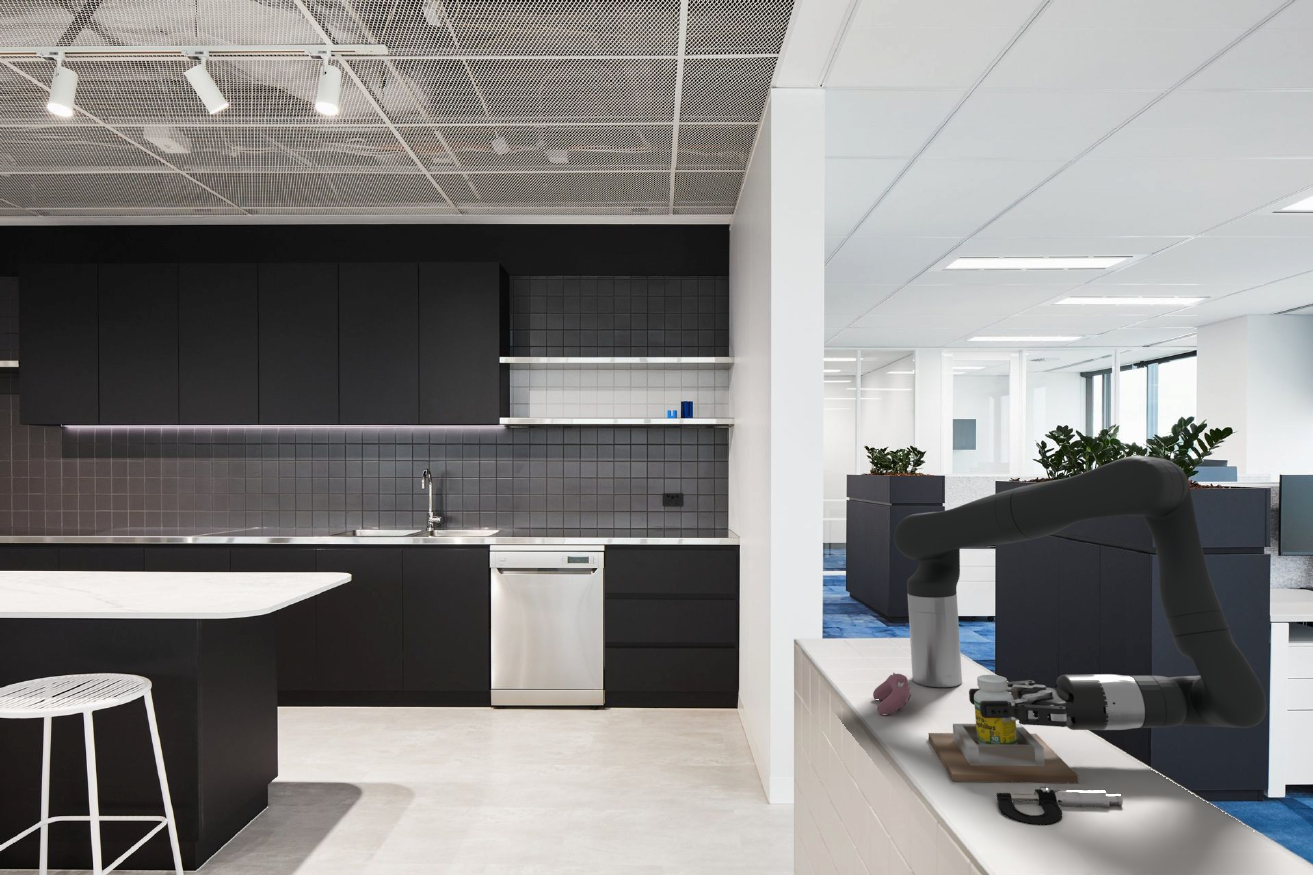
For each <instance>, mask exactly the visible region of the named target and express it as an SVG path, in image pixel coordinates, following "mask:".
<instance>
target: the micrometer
mask: <svg viewBox="0 0 1313 875" xmlns="http://www.w3.org/2000/svg"><path fill="white" fill-rule="evenodd" d="M996 800H997V806H998V810H999V812H1000V813H1001V815H1003V816H1004V817H1006V818H1007V819H1010V820H1011V821H1014V822H1017V823H1020V824H1025V825H1029V826H1031V825H1032V826H1051V825H1055V824H1058V823H1060V822H1061V821H1062V820H1063V811H1062V808H1061V807H1067V808H1069V807H1071V808H1101V809H1108V808H1109V807H1110V805H1111V806H1113V805H1114V806H1118V807H1119V806H1123V803H1124V802H1123V798H1122V795H1121V794H1119V793H1115V794H1108V793H1107V792H1106V790H1105V789H1096V790H1095V789H1093V790H1091V789H1086V790H1085V789H1075V788H1074V789H1073V788H1071V789H1056V790H1053V789H1051V787H1049V786H1046V785H1040V787H1039V788H1035V789H1034V794H1033V793H1029V794H1028V793H1011V792H996ZM1014 802H1036V803H1037V805H1038V806H1039V807H1041V808H1042V809H1043V811H1044V812H1043V813H1041V814H1028V813H1025V812H1022V811H1020V810H1019V809H1018V808H1016V806H1015V803H1014Z"/></svg>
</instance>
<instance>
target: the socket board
mask: <svg viewBox="0 0 1313 875" xmlns="http://www.w3.org/2000/svg"><path fill="white" fill-rule="evenodd" d="M952 731H953V732H945V733H944V732H928V734H927V735H928V741H929V740H930V741H929V742H930V744H931V746H932V747H934V748H933V749H934V751H935V752H936V754H937V756H938V758H939V760H940V761H941V763H942V764H943V766H944V767H945V768H944V769H946V773H948V775H949V777H950V779H951V780H952V782H953V783H954V782H957V783H958V782H959V783H961V782H962V783H963V782H965V783H1016V784H1017V783H1024V784H1025V783H1029V784H1030V783H1032V784H1037V783H1038V784H1079V775H1078V774H1077V773H1076V772H1075V771H1074V770H1073V769H1072V768H1071V767H1070V766H1069V765H1068V764H1067V763H1066V762H1065V761H1064V760H1063V758H1061V757H1060V756H1059V755H1058V754H1057V753H1056V752H1055V751H1054V750H1053V749H1052V748H1051V747H1050V746H1049V744H1047V743H1046V741H1044V739H1042V738H1041V736H1040V735H1038V734H1037V733H1030V732H1029V731H1028V730H1027V729H1026V728H1025V727H1024V725H1022V724H1020V723H1016V731H1017V745H1003V744H979V743H978V740H977V730H976V723H952Z"/></svg>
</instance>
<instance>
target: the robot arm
mask: <svg viewBox="0 0 1313 875" xmlns="http://www.w3.org/2000/svg"><path fill="white" fill-rule="evenodd" d="M1190 486H1191V485H1190V482H1189V479H1188V477H1187V475H1186V473H1185V471H1184V470H1183V468H1182V467H1180V466H1179V465H1178V464H1176V463H1174V462H1173V461H1171V460H1168V459H1165V458H1160V457H1154V456H1145V455H1132V456H1127V457H1123V458H1119V459H1116V460H1114V461H1112V462H1109V463H1106V464H1103V465H1100V466H1098V467H1095V468H1093V469H1090V470H1087V471H1085V472H1082V473H1080V474H1077V475H1073V476H1069V477H1066V478H1061V479H1054V480H1048V481H1042V482H1038V483H1034V484H1033V483H1032V484H1029V485H1022V486H1019V487H1015V488H1012V489H1007V490H1004V491H1001V492H1000V491H999V492H997V493H995V494H991V495H988V496H984V497H981V498H979V499H975V500H972V501H971V502H968V503H965V504H962V505H959V506H957V507H953V508H950V509H947V510H942V511H931V512H921V513H920V512H919V513H913V514H910V515H908V516H906V517H904V518H902V520H900V521H899V522H898V524H897V525H896V527H895V530H894V533H893V542H894V545H895V547H896V549H897V550H898V552H900V553H901V554H902V555H903V556H904V557H906V558H908V559H911V560H914V561H919V564H918V568H916V571H915V572H914V573H913V574H912V575H911V576H910V577H909V578H907V581H906V582H907V583H906V590H907V605H908V606H907V608H908V621H909V622H908V623H909V638H910V640H909V641H910V655H911V658H910V659H911V672H912V673H911V675H912V681H913V682H914V683H916V684H918V685H920V686H925V687H933V688H950V687H957V686H960V685H961V684H962V683H963V674H962V658H961V657H962V656H961V642H960V641H961V639H960V626H959V624H960V623H959V609H958V595H957V593H958V592H957V586H958V583H959V580H960V576H961V565H960V564H961V562H960V561H961V554H960V549H962V548H972V547H974V548H975V547H985V546H986V547H987V546H988V547H989V546H999V545H1007V544H1016V543H1022V542H1026V541H1031V540H1032V541H1033V540H1035V539H1040V538H1045V537H1048V536H1051V535H1053V534H1056V533H1058V532H1061V531H1062V530H1064V529H1067V528H1068V527H1070V526H1072V525H1075V524H1078V523H1082V522H1085V521H1090V520H1098V519H1104V518H1112V517H1142V518H1143V520H1144V521H1145V524H1146V525H1147V527H1148V529H1149V532H1150V534H1151V537H1152V539H1153V542H1154V545H1155V550H1156V556H1157V564H1158V587H1159V588H1158V590H1159V591H1158V592H1159V598H1160V601H1161V602H1160V603H1161V606H1162V607H1161V608H1162V610H1163V611H1162V612H1163V613H1164V616H1165V617H1164V618H1165V619H1166V622H1167V625H1168V628H1169V631H1170V634H1171V637H1172V639H1173V641H1174V645H1175V647H1176V648H1177V651H1178V653H1179V654H1180V655H1182V656H1183V657H1185V658H1187V659H1189V660H1191V661H1192V663H1193V665H1194V666H1195V668H1196V670H1197V672H1198V675H1186V676H1171V677H1170V676H1169V677H1167V676H1163V675H1123V674H1122V675H1121V674H1113V673H1108V674H1107V673H1104V674H1103V673H1100V674H1095V673H1094V674H1061V675H1060V676H1058V677H1057V679H1056V683H1055V686H1053V687H1047V686H1046V685H1044V684H1036V682H1035V681H1034V680H1030V679H1027V680H1016V681H1007V685H1008V688H1007V690H1006V691H1007V692H1009V693H1010V694H1011V695H1012V696H1013V698H1014V700H1011V701H1009V704H1008V702H1007V701H981V702H980V714H981V716H982V717H984V718H1009V717H1010V719H1012V720H1015V721H1018V724H1021V725H1022V726H1026V725H1027V726H1040V727H1041V726H1042V727H1043V726H1044V727H1045V726H1046V727H1061V728H1067V729H1069V730H1071V731H1108V730H1109V731H1112V730H1113V731H1115V730H1116V731H1121V730H1130V729H1138V728H1139V729H1144V728H1145V729H1151V728H1153V729H1157V728H1159V729H1161V728H1164V729H1165V728H1172V727H1173V728H1174V727H1177V726H1190V727H1191V726H1192V727H1217V728H1220V727H1221V728H1232V729H1235V728H1236V729H1248V728H1253V727H1256V726H1257V725H1258V726H1259V724H1260V723H1262V722H1263V720H1264V719H1265V717H1266V714H1267V708H1268V706H1267V699H1266V698H1267V696H1266V693H1265V690H1264V688H1263V686H1262V683H1261V681H1260V680H1259V678H1258V676H1257V674H1256V673H1255V671H1254V670H1253V668H1252V666H1251V665H1250V663H1249V662H1248V660H1247V658H1246V657H1245V655H1244V654H1243V652H1242V651H1241V650H1240V648H1239V647H1238V646H1237V644H1236V643H1235V641H1234V639H1233V635H1232V632H1231V630H1230V627H1229V624H1228V622H1227V619H1226V616H1225V614H1224V611H1223V608H1222V605H1221V602H1220V600H1219V598H1218V595H1217V592H1216V590H1215V587H1214V584H1213V581H1212V578H1211V574H1210V572H1209V569H1208V565H1207V562H1206V558H1205V555H1204V550H1203V545H1202V541H1201V537H1200V534H1199V532H1200V531H1199V529H1198V524H1197V519H1196V514H1195V509H1194V508H1195V507H1194V502H1193V501H1194V500H1193V495H1192V490H1191V487H1190ZM978 690H980V688H979V687H978V688H970V689H969V690H968V698H969V702H970V703H971V704H972V705H974V694H975V693H976V692H977V691H978ZM974 706H975V705H974Z"/></svg>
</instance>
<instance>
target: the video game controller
mask: <svg viewBox="0 0 1313 875" xmlns="http://www.w3.org/2000/svg"><path fill="white" fill-rule="evenodd" d="M872 697H873V698H874V700H875V699H879V700H881V702H880V703H879V704H878V705H877V706H878V707H877V712H878V714H880V715H881V714H889V715H893V714H894V713H896V712H900V710H901V708H902V707H903V706H905V704H906V703H907V702H910V701H911V700H912V694H911V687H910V686H909V680H908V677H907V676H906V675H904V674H903V673H902V674H901V673H895V672H893V673H892V674H890V675H889V676H888V677H887V678H886V680H885V681H883V682H882V683H881V684H880V685H878V686H877V687H876V688H874V691H873V693H872Z"/></svg>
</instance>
